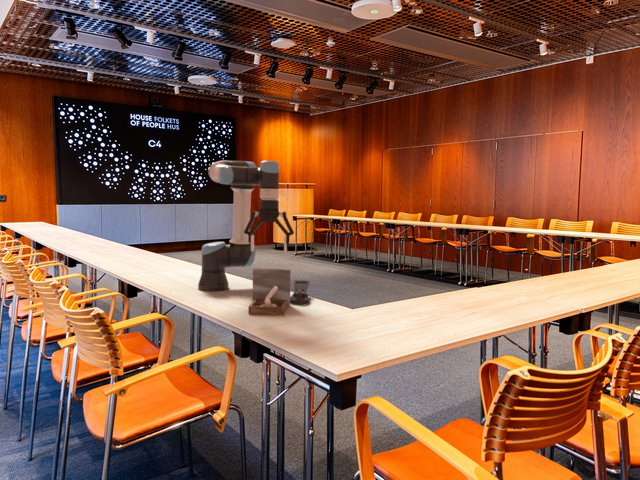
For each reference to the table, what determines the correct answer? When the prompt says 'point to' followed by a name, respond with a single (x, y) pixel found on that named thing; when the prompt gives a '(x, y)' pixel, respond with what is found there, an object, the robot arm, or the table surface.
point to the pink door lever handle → (267, 300)
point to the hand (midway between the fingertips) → (268, 251)
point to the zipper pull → (300, 293)
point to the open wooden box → (263, 286)
